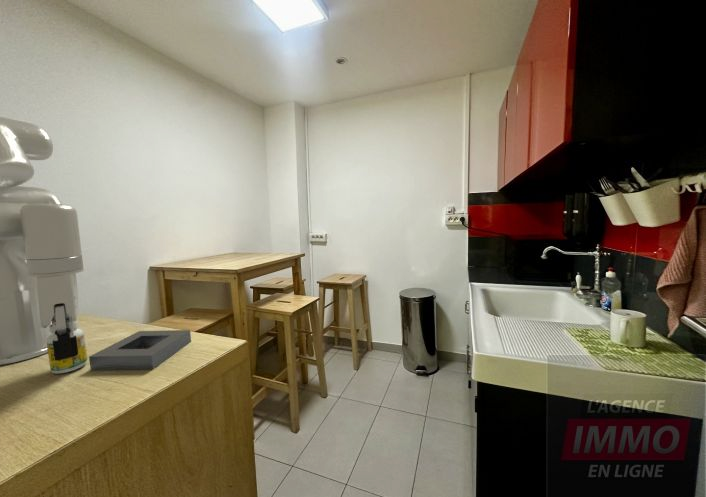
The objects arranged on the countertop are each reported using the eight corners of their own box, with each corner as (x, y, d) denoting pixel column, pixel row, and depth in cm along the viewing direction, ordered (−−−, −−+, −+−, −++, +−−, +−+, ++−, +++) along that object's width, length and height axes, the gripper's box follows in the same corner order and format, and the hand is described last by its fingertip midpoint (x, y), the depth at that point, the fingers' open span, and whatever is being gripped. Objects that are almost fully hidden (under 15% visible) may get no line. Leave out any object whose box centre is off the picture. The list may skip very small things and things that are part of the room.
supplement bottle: (90, 358, 61) (85, 316, 60) (84, 369, 56) (78, 324, 55) (55, 365, 58) (49, 321, 57) (46, 377, 54) (39, 330, 52)
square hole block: (90, 370, 56) (88, 356, 56) (140, 342, 69) (139, 331, 69) (152, 369, 56) (151, 355, 56) (191, 341, 69) (190, 330, 69)
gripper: (33, 263, 58) (45, 344, 60) (20, 275, 46) (34, 376, 48) (83, 259, 64) (92, 334, 66) (82, 269, 51) (93, 360, 53)
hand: (67, 351), depth 57 cm, fingers closed on supplement bottle, 5 cm apart
